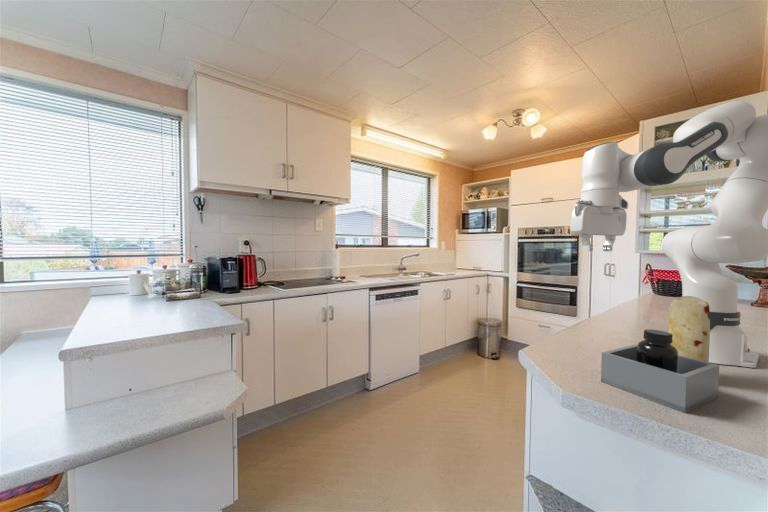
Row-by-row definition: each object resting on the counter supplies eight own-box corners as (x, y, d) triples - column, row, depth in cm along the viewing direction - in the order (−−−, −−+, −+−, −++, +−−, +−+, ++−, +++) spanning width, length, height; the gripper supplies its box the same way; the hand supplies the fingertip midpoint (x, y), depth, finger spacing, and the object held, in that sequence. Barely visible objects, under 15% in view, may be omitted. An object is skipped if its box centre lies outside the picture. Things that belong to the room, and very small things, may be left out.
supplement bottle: (635, 384, 68) (636, 331, 67) (636, 375, 73) (638, 326, 72) (677, 394, 63) (679, 338, 63) (675, 383, 68) (677, 331, 68)
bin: (635, 371, 78) (635, 344, 78) (718, 397, 64) (719, 365, 64) (601, 381, 71) (601, 352, 71) (685, 413, 58) (686, 377, 58)
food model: (718, 386, 69) (721, 300, 69) (682, 382, 71) (685, 299, 71) (690, 370, 79) (692, 294, 78) (658, 367, 81) (661, 293, 80)
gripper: (588, 197, 77) (587, 251, 77) (631, 203, 86) (630, 251, 86) (564, 201, 82) (563, 251, 83) (607, 206, 91) (606, 251, 92)
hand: (597, 251), depth 84 cm, fingers open, 8 cm apart
